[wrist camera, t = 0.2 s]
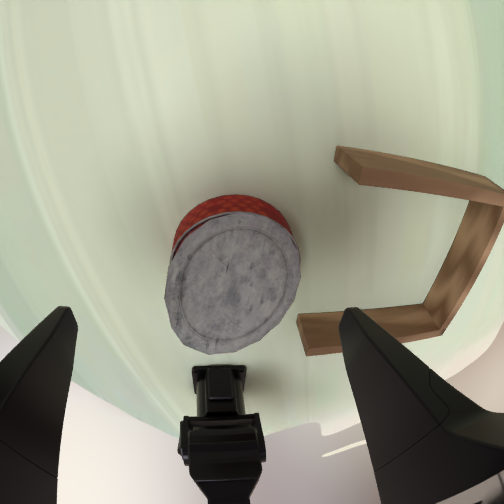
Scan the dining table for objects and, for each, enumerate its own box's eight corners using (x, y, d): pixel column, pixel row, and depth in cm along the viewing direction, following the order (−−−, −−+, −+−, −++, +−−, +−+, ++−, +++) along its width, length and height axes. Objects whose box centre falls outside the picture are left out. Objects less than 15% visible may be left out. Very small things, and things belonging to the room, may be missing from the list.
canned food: (179, 200, 27) (138, 196, 17) (291, 194, 27) (310, 185, 17) (189, 319, 28) (158, 369, 19) (294, 316, 28) (311, 367, 18)
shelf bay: (425, 309, 34) (441, 335, 30) (296, 321, 31) (306, 356, 28) (484, 176, 23) (513, 196, 20) (336, 145, 21) (362, 166, 17)
